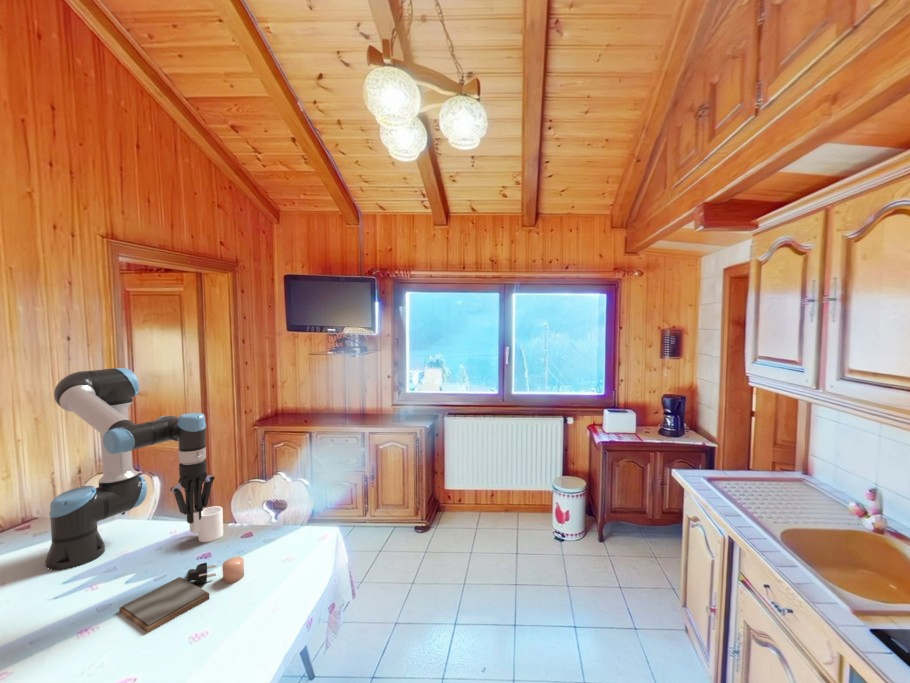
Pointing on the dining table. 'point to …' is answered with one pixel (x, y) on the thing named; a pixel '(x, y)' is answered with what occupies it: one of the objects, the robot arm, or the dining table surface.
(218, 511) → the cup
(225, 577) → the peach rounded cylinder
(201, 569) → the power plug
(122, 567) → the dining table surface
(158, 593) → the stand
